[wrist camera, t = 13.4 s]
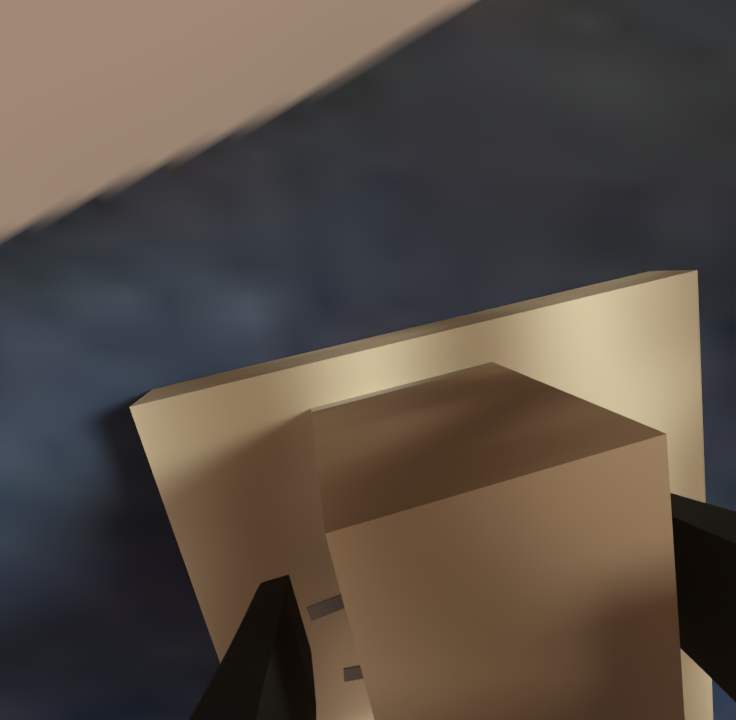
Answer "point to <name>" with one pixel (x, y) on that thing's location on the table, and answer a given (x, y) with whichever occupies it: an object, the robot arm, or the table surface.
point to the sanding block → (502, 551)
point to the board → (382, 371)
